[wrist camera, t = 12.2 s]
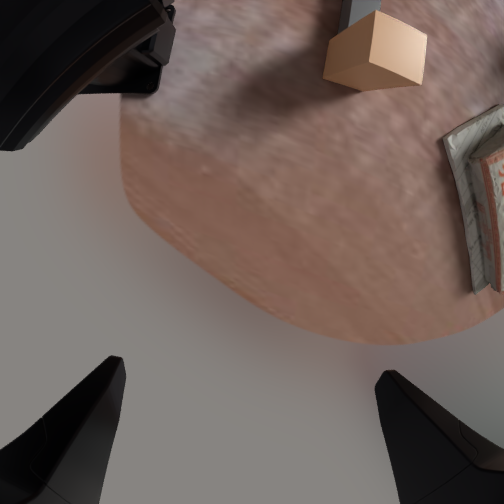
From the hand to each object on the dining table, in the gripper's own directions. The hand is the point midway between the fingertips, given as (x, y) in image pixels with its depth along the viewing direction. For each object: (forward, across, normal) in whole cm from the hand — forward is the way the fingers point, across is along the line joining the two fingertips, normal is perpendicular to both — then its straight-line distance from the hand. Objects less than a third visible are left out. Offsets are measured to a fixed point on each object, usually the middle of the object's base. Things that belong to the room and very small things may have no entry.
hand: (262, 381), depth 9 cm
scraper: (+13, -5, -20) cm, 24 cm away
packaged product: (+14, -24, -7) cm, 28 cm away
